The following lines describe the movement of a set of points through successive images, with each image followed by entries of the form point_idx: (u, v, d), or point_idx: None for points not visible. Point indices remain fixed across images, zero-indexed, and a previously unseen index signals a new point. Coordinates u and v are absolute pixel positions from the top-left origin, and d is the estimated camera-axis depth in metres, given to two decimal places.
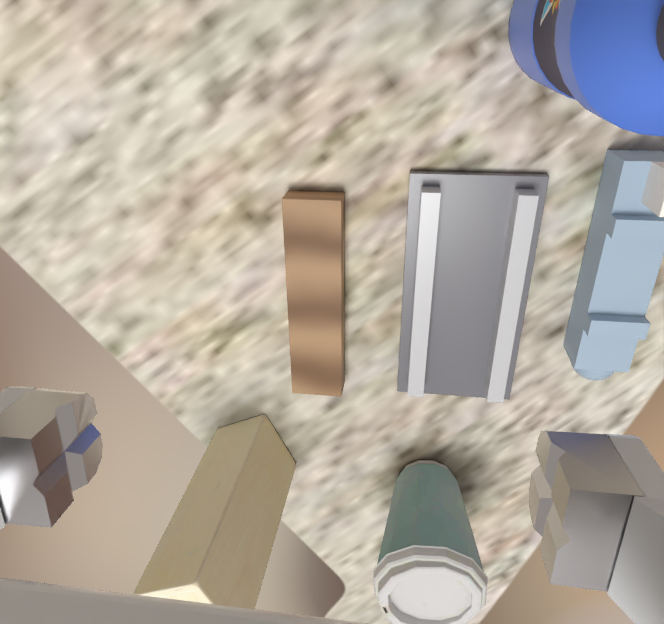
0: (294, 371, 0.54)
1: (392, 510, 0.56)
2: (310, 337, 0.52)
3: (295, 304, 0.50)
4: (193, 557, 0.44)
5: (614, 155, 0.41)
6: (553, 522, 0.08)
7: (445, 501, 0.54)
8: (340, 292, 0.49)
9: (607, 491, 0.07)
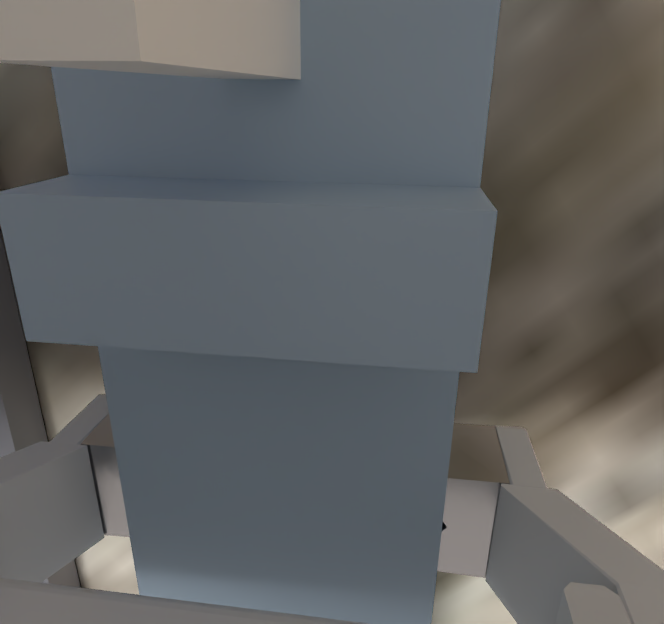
0: None
1: None
2: None
3: None
4: None
5: None
6: None
7: None
8: None
9: (477, 479, 0.08)
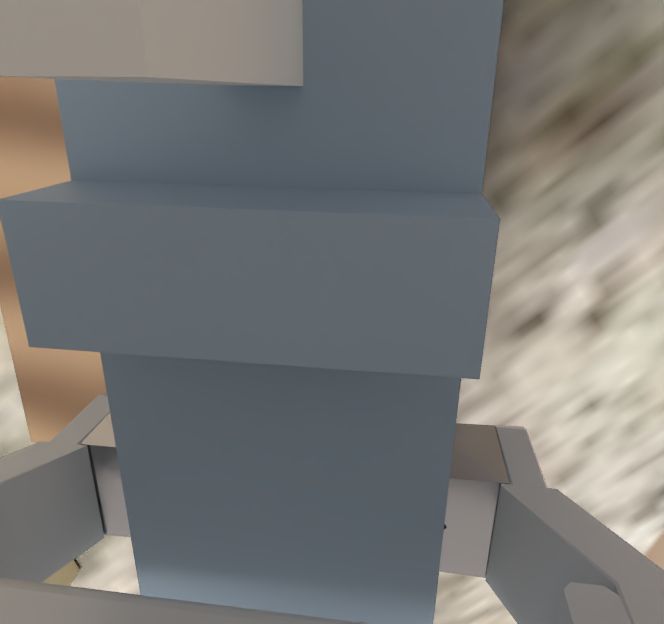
0: (28, 400, 0.28)
1: None
2: None
3: (4, 259, 0.25)
4: None
5: None
6: None
7: None
8: None
9: (477, 479, 0.08)
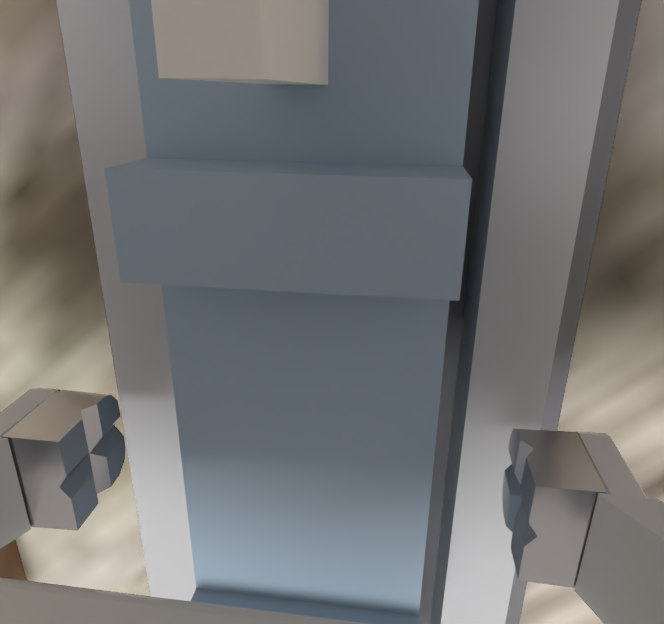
0: None
1: None
2: None
3: None
4: None
5: None
6: (522, 519, 0.08)
7: None
8: None
9: (572, 487, 0.08)
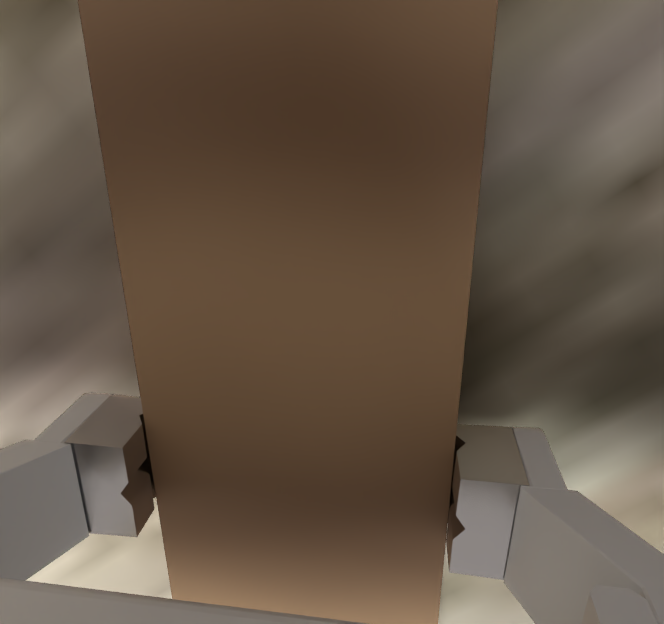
0: None
1: None
2: None
3: (196, 493, 0.09)
4: None
5: None
6: (454, 512, 0.08)
7: None
8: (450, 436, 0.08)
9: (496, 481, 0.08)
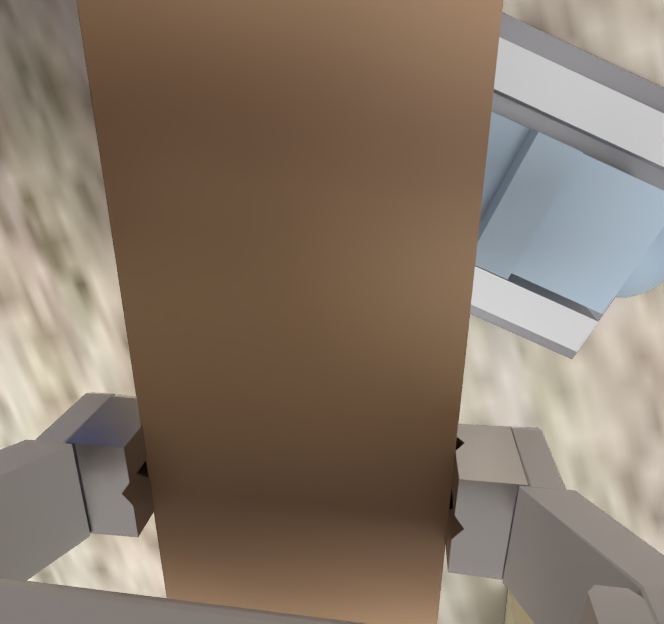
0: None
1: None
2: None
3: (194, 503, 0.09)
4: None
5: None
6: (453, 512, 0.08)
7: None
8: (450, 449, 0.08)
9: (495, 480, 0.08)
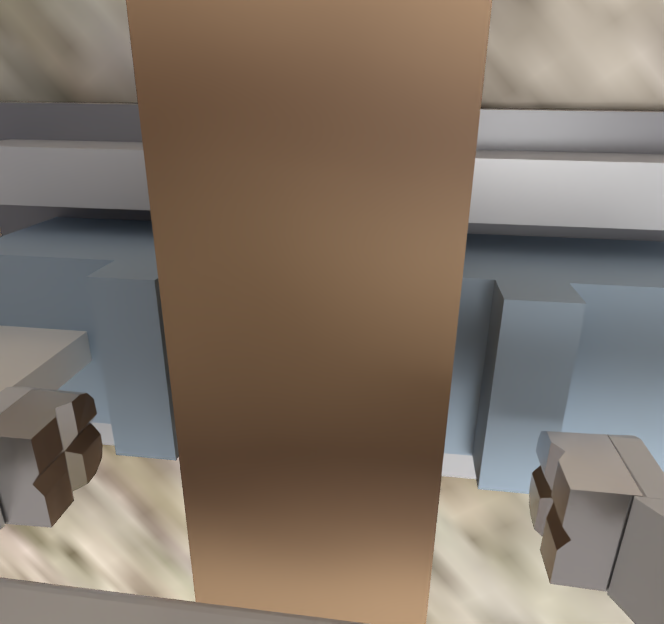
0: None
1: None
2: (288, 596, 0.12)
3: (216, 457, 0.10)
4: None
5: None
6: (553, 522, 0.08)
7: None
8: (444, 405, 0.09)
9: (607, 491, 0.07)
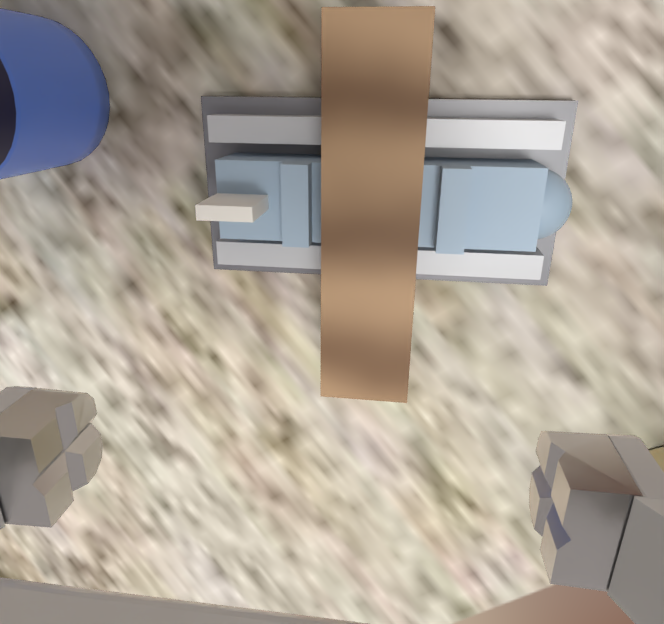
0: (327, 357, 0.31)
1: None
2: (359, 292, 0.29)
3: (335, 227, 0.28)
4: None
5: None
6: (553, 522, 0.08)
7: None
8: (419, 201, 0.27)
9: (607, 491, 0.07)
